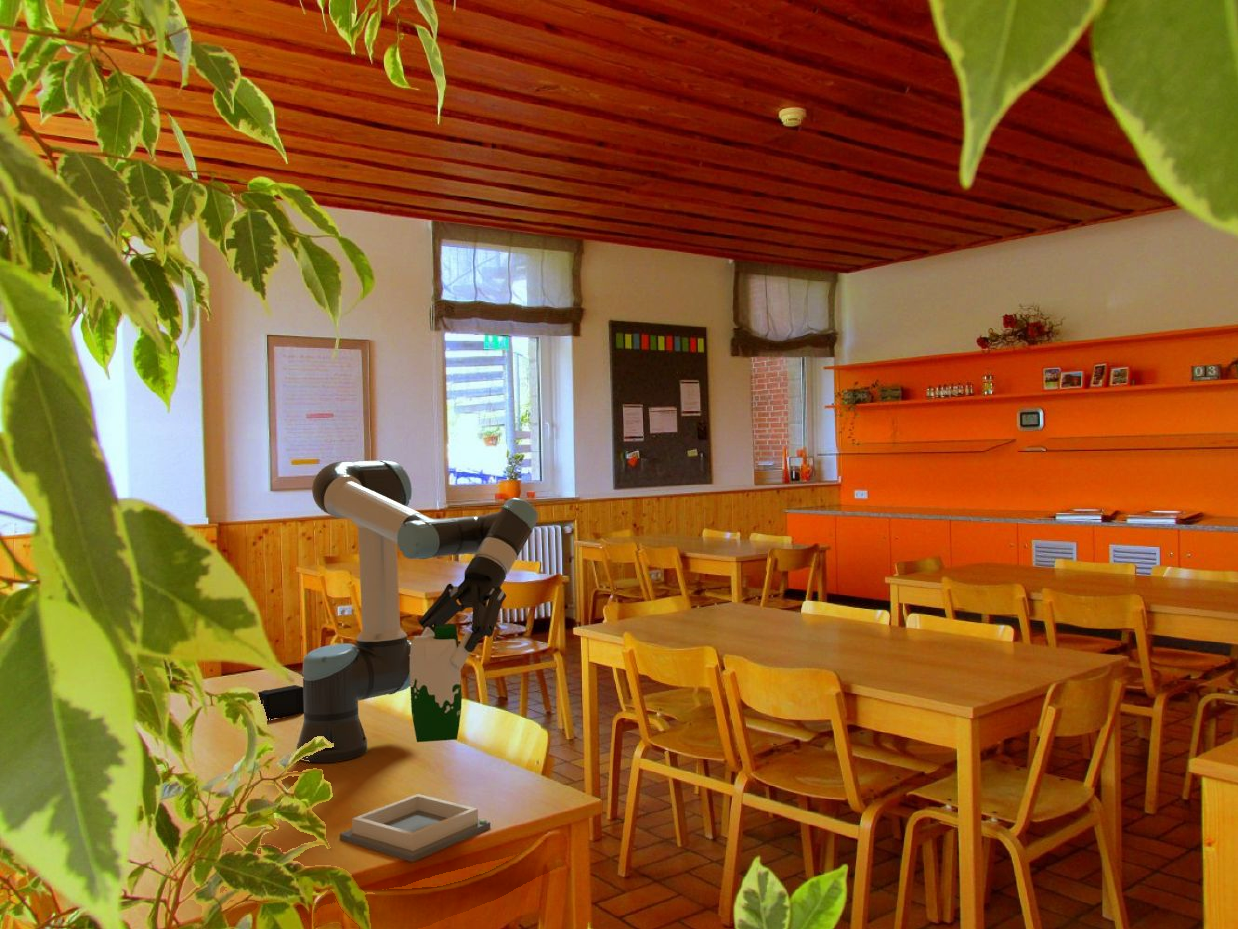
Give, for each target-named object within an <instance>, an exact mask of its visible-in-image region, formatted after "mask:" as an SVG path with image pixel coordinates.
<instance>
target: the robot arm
mask: <svg viewBox="0 0 1238 929" xmlns="http://www.w3.org/2000/svg"><path fill="white" fill-rule="evenodd" d="M412 490H413V489H412V484H411V480H410V477H409V474H408V473H407V471H406V470H405V469H404V467H403V466H402V465H401V464H399V463H397V462H396V461H391V460H380V459H378V460H361V461H360V460H359V461H358V460H356V461H353V460H352V461H347V460H345V461H337V462H333V463H329V464H328V465H326V466H324V467H323V468H321V470H320V471H319V472H318V473H317V475H315V478H314V480H313V483H312V485H311V492H312V498H313V500H314V502H315V504H316V506H317V507H318V508H319V509H320V510H322V512H324V513H325V514H328V515H330V516H331V517H333V518H337V519H348V520H350V521H351V522H352V523H354V524H355V525H356V526H357V535H358V540H357V541H358V556H359V557H358V559H359V587H360V607H361V625H362V626H361V628H362V630H361V631H360V633H359V634H358V635H357V636H356V638H355V644H353V643H349V642H348V643H347V642H346V643H336V644H328V645H325V646H321V647H318V648H315V649H313V650H311V651H310V652H309V651H308V653H307V654H306V655H304V658H303V660H302V673H301V677H304V678H302V685H303V686H302V687H303V699H304V714H303V724H302V726H301V731H300V735H299V738H298V742H297V744H296V750H297V749H299V748H300V747H301V746H303V745H304V744H305V743H308V742H309V741H311V740H312V739H313V738H314V737H317V736H324V737H325V738H326V739H327V740H328V741H330V742H331V743H334V747H332V748H325V749H323V750H321V751H318V752H316V753H314V754H313V755H310V756H305V757H303V758H302V759H304V760H309V761H310V762H309V763H312V762H315V764H324V763H325V764H326V763H328V764H329V763H336V762H343V761H348V760H351V759H357V758H358V757H361V756H363V755H364V754H366V753H367V752H368V739H367V737H366V734H365V731H364V727H363V726H362V722H361V720H360V717H359V701H363V700H367V699H371V698H375V697H381V696H387V695H394V694H396V693H398V692H402V691H405V690H407V689H409V688H410V651H411V642H412V641H410V640H408V634H407V633H406V632H405V631H404V630H403V629H402V628H401V618H400V617H401V616H400V615H401V614H400V613H401V612H400V595H399V594H400V593H399V571H398V569H399V568H398V550H399V551H400V552H402V555H403V556H404V557H405V558H407V559H409V560H427V559H432V558H440V557H441V558H443V557H448V556H450V557H451V556H458V555H459V556H460V555H474V556H473V558H472V559H471V560H470V562H469V564H468V565H467V566H466V569H465V570H464V580H463V581H462V582H461V583H460V584H458V586H454V585H453V584H452V583H448V584H447V585H446V586H445V588H444V590H443V592H442V593H441V595H440V596H439V597H438V598H437V599H436V600H435V601H434V602H433V604H432V605H431V606H430V607H429V608H428V610H427V611H426V612H425V613H424V614H423V615H422V616H421V618H420V619H419V620H418V624H419V625H420V626H421V627H422V630H421V632H420V634H419V636H428V635H429V634H435V632H434V627H435V626H437V625H444V624H447V623H448V622H449V621H450V620H451V619H452V618H454V616H456V615H457V614H458V613H459V612H464V610H466V609H470V608H471V609H472V615H471V618H472V621H471V626H470V627H469V629H470V630H466V631H465V633H464V636H463V637H462V639H461V641H460V643H458V648H457V649H456V652H455V653H454V655H453V657H452V658H451V660H450V661H451V662H452V663H453V664H454V665H455V666H456V667H457V668H458V669H460V670H462V669H463V667H464V665H465V664H466V662H467V659H468V658H469V656H470V655H471V653H473V652H474V651H475V649H476V647H477V646H478V644H479V642H480V641H481V639H483V638H485V637H488V638H490V637H492V636H493V635H494V632H495V628H496V624H497V621H498V617H499V614H500V610H501V607H502V604H503V602H504V600H505V599H506V597H507V594H506V593H505V592H504V590H502V588H501V587H502V585H503V584H504V582H505V580H506V578H507V575H508V574H509V573H510V571H511V569H512V567H513V565H514V563H515V562H516V560H517V558H518V556H519V555H520V553H521V552H522V550H523V547H524V546H525V544H526V543H527V541H528V539H529V538H530V536H531V534H532V533H533V532H534V528H535V525H536V524H537V522H538V519H539V514H538V511H537V510H536V508H535V507H534V506H532V504H531V503H529V502H528V501H526V500H524V499H522V498H518V497H513V498H509V499H508V500H507V501H506V502H505V503H504V504H503V505H502V506H501V510H500V511H498V512H497V511H496V512H492V513H489V514H482V515H474V516H462V517H446V518H432V517H430V516H427V515H425V514H422V513H421V512H419V511H417V510H415V509H412V508H410V507H408V505H409V504H410V500H412V494H413V492H412ZM397 546H398V548H397ZM458 602H459V603H458ZM306 757H308V758H306Z"/></svg>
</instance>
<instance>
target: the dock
mask: <svg viewBox="0 0 1238 929" xmlns="http://www.w3.org/2000/svg"><path fill="white" fill-rule="evenodd" d="M478 810H479V809H478V808H477V807H472V806H468V805H463V804H460V803H456V802H452V801H448V800H445V799H440V798H436V797H432V796H428V795H424V794H420V793H417V794H414V795H411V796H408V797H406V798H403V799H401V800H399V801H398V800H397V801H395V802H393V803H389V804H387V805H384V806H382V807H379V808H377V809H374V810H371V811H369V812H366V813H363V814H361V815H357V816H355V817H352V819H351V821H352V823H351V825H352V826H351V827H352V828H351V829H349V830H347V831H344V832H342V833H340V834H339V840H340V841H343V842H346V843H349V844H352V845H355V846H359V847H362V848H366V849H368V850H370V851H371V850H372V851H376V852H379V853H381V854H384V855H387V856H390V857H395V858H398V859H401V860H404V861H407V862H410V863H414V862H416V861H418V860H421V859H423V858H425V857H428V856H430V855H432V854H435V853H437V852H439V851H441V850H444V849H446V848H448V847H450V846H453V845H455V844H457V843H460V842H461V841H464V840H467V839H469V838H470V837H473V836H475V835H478V834H480V833H482V832H484V831H486V830H489V829H491V821H487V819H485V818H483V819H482V818H481V819H479V811H478Z"/></svg>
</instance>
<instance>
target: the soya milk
mask: <svg viewBox="0 0 1238 929" xmlns="http://www.w3.org/2000/svg"><path fill="white" fill-rule="evenodd" d="M457 629H458V628H457V625H456V624H452V623H448V624H447V623H445V624H444V625H437V626H435V627H434V632H435V634H429V635H428V636H420V635H414V636H413V638H412V640H411V641H410V642H411V651H410V687H409V688H410V707H411V709H410V710H411V716H412V723H413V728H414V733H415V738H416V742H417V743H424V742H426V743H427V742H440V741H452V740H453V741H454V740H458V735H459V729H460V724H461V715H462V675H461V673H462V672H461V669H458V668H457V667H456V666H455V665H454V664H453V663H452V662H451V661H450V660H451V658H452V657H453V655H454V653H455V652H456V649H457V648H458V646H459V636H458V631H457Z"/></svg>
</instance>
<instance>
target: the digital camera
mask: <svg viewBox="0 0 1238 929" xmlns="http://www.w3.org/2000/svg"><path fill="white" fill-rule="evenodd" d="M258 694H259V697H260V700H261V704H263V706H264V709H265V712H266V716H267V719H268V721H267V722H270V721H269V718H270V720H271V719H274V718H280V719H283V717H285V718H290V717H294V716H298V715H302V714H303V715H304V699H303V686H300V685H296V684H293V685H289V686H288V685H287V686H283V687H278V688H272V689H264V690H262V691H258V693H257V695H258ZM271 721H272V720H271Z"/></svg>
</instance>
